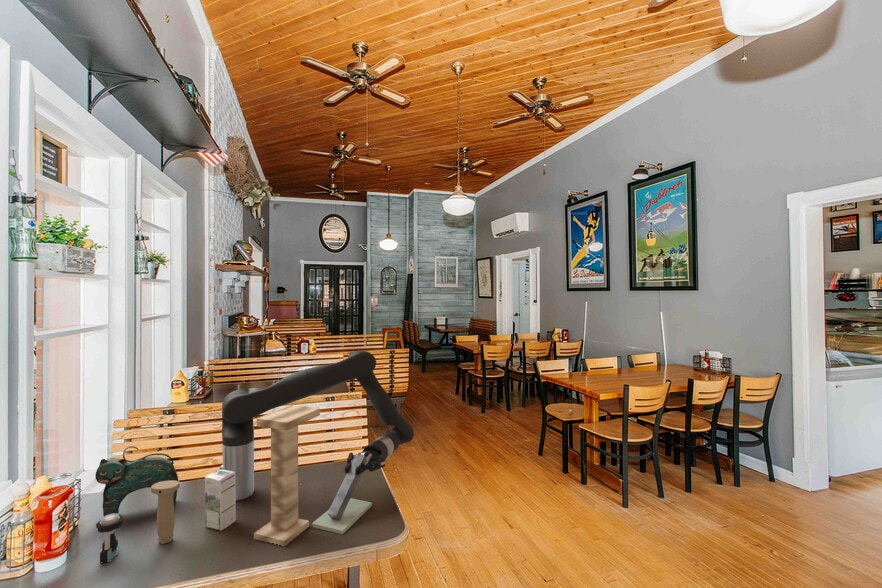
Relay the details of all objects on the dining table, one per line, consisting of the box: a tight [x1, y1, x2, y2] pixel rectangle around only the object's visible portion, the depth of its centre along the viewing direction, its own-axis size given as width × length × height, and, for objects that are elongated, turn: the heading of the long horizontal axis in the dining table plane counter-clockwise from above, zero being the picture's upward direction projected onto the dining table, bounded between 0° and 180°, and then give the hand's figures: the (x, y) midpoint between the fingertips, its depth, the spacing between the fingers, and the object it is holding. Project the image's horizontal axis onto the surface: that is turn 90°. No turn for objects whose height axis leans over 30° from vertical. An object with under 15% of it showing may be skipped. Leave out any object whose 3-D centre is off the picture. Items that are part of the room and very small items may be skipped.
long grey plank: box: [327, 453, 366, 521], centre depth 126 cm, size 3×19×3 cm
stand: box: [253, 404, 321, 548], centre depth 117 cm, size 10×15×32 cm, turn 160°
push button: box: [95, 513, 124, 564], centre depth 105 cm, size 7×5×10 cm
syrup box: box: [204, 468, 237, 531], centre depth 119 cm, size 6×6×14 cm
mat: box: [311, 498, 373, 535], centre depth 123 cm, size 10×16×1 cm, turn 160°
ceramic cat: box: [94, 445, 179, 517], centre depth 126 cm, size 20×6×20 cm, turn 123°
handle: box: [150, 480, 181, 545], centre depth 111 cm, size 5×6×15 cm
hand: (351, 471), depth 127 cm, fingers closed on long grey plank, 3 cm apart
